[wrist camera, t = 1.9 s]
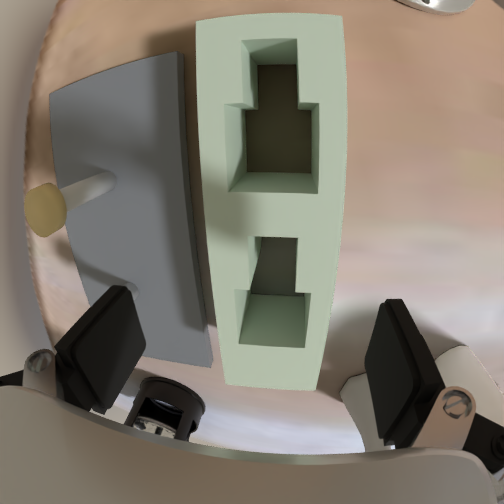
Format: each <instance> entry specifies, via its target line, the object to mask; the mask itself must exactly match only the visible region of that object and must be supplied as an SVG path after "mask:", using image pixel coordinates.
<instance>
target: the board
mask: <svg viewBox="0 0 504 504" xmlns="http://www.w3.org/2000/svg"><path fill="white" fill-rule="evenodd" d="M49 97H50V125H51V139H52V149H53V158H54V166H55V173H56V179H57V186H58V188H57V187H56V186H55V185H53V184H51V183H46V184H43V185H41V186H38V187H36V188H34V189H31V190H30V191H29V192H28V193H27V195H26V198H25V204H24V207H25V215H26V218H27V221H28V223H29V225H30V227H31V229H32V230H33V231H34V232H35V233H36V234H37V235H38V236H40V237H48V236H49V235H51V234H52V233H54V232H56V231H57V230H59V229H61V228H62V227H63V226H64V224H65V225H66V229H67V233H68V237H69V241H70V245H71V248H72V252H73V256H74V259H75V262H76V266H77V269H78V272H79V275H80V278H81V281H82V284H83V287H84V290H85V293H86V296H87V298H88V301H89V304H90V306H92V305H93V304H94V303H95V302H96V301H97V300H98V299H99V298H100V297H101V296H102V295H103V294H104V293H105V292H106V291H107V290H108V289H109V288H110V287H111V286H112V285H120V286H126V287H127V288H128V290H130V291H131V293H132V296H133V300H134V303H135V307H136V311H137V314H138V317H139V321H140V324H141V327H142V331H143V334H144V337H145V340H146V349H145V351H144V352H143V354H142V356H146V357H151V358H155V359H160V360H166V361H171V362H177V363H182V364H189V365H195V366H202V367H209V368H211V365H212V362H213V355H212V350H211V344H210V338H209V332H208V326H207V320H206V313H205V307H204V300H203V293H202V286H201V279H200V272H199V264H198V256H197V248H196V240H195V231H194V222H193V212H192V202H191V191H190V180H189V167H188V154H187V138H186V121H185V98H184V54H182V53H180V52H178V51H175V52H170V53H166V54H161V55H157V56H153V57H149V58H145V59H141V60H138V61H134V62H131V63H127V64H124V65H121V66H118V67H115V68H112V69H109V70H106V71H103V72H100V73H98V74H95V75H92V76H90V77H87V78H85V79H82V80H80V81H77V82H75V83H73V84H70V85H68V86H66V87H64V88H61V89H59V90H57V91H55V92H53V93H51V94H49Z"/></svg>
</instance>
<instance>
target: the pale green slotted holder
mask: <svg viewBox="0 0 504 504" xmlns="http://www.w3.org/2000/svg"><path fill="white" fill-rule="evenodd" d="M271 64H296V67H297V98H298V110H311V173H279V172H247V150H246V119H245V110H259V107H258V75H257V65H271ZM196 79H197V108H198V130H199V148H200V164H201V178H202V191H203V203H204V215H205V226H206V236H207V246H208V256H209V265H210V274H211V283H212V291H213V299H214V307H215V315H216V322H217V330H218V337H219V344H220V351H221V357H222V364H223V370H224V377H225V383H226V384H229V385H237V386H246V387H257V388H270V389H285V390H314V391H315V390H316V386H317V381H318V377H319V372H320V368H321V363H322V358H323V353H324V348H325V343H326V338H327V332H328V327H329V321H330V315H331V309H332V303H333V296H334V290H335V283H336V275H337V268H338V260H339V251H340V242H341V233H342V222H343V210H344V197H345V181H346V159H347V79H346V59H345V44H344V32H343V22H342V16H338V15H327V14H312V13H263V14H247V15H236V16H227V17H219V18H212V19H206V20H200V21H196ZM261 236H262V237H292V238H296V286H295V292H301V293H305V295H304V297H302V296H279V295H259V294H251V283H252V279H253V275H254V272H255V268H256V264H257V261H258V257H259V254H260V250H261V246H262V245H261Z"/></svg>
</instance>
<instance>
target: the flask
mask: <svg viewBox="0 0 504 504" xmlns="http://www.w3.org/2000/svg"><path fill="white" fill-rule="evenodd" d="M339 394H340V396H341V398H342V400H343V402H344V404H345V406H346V408H347V410H348V412H349V414H350V415H351V417H352V419H353V421H354V422H355V424H356V426H357V428H358V430H359V432H360V434H361V437H362V440H363V443H364V447H365V452H374V451H382V450H391V446H384V443H383V439H379V437H378V432H377V426H376V420H375V414H374V409H373V403H372V398H371V393H370V388H369V383H368V379H367V374H366V373H365V374H361V375H358V376H355V377H352V378H349V379H348V381H347V382H346V384H345V385H344V387H343V388H342V389H341V391H340V392H339Z"/></svg>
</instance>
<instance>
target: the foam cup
mask: <svg viewBox="0 0 504 504" xmlns="http://www.w3.org/2000/svg"><path fill="white" fill-rule="evenodd" d="M435 363H436V365H437V368H438V370H439V372H440V374H441V377H442V379H443V381H444V384H445V386H446V388H447V387H450V386H459V387H462V388H464V389H466V390H468V391H469V392H470V393H471V394H472V395H473V397H474V399H475V402H476V413H478V414H480V415H482V416H483V417H485V418H487V419H489V420H491V421H493V422H495V423H497V424H499V425H501V426H503V427H504V395H503V394H502V392H501V391H500V389H499V388H498V386H497V385H496V383H495V382H494V380H493V379H492V378H491V376H490V375H489V373H488V372H487V370H486V369H485V368H484V366H483V365H482V364H481V362H480V361H479V359H478V358H477V357H476V355H475V354H474V353H473V352H472V350H471V349H470V348H469V347H468V346H458V347H455V348H452V349H449V350H448V351H446V352H445V353H443V354H442V355H440V356H439V357H438V358H437V359H436V360H435Z"/></svg>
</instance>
